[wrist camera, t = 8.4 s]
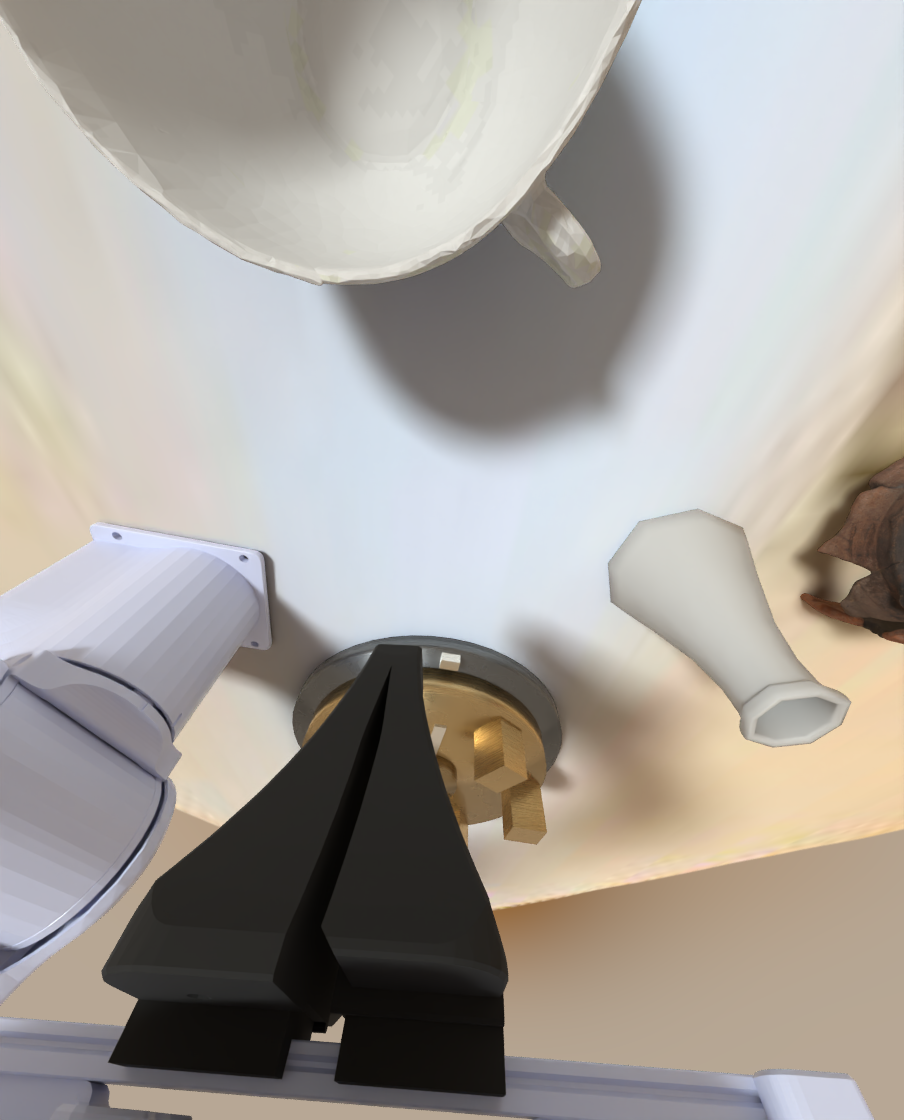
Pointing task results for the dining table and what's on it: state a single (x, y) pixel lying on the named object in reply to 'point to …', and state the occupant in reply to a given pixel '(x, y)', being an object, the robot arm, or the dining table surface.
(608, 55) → the teacup
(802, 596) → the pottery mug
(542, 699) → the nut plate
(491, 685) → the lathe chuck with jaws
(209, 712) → the dining table surface
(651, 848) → the dining table surface
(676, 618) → the flask
